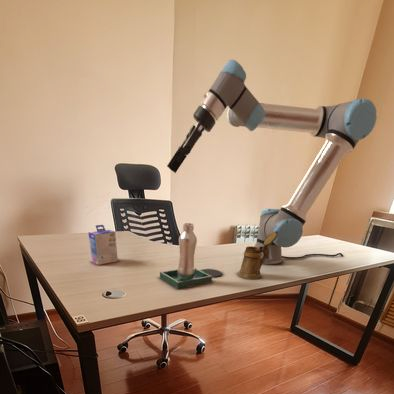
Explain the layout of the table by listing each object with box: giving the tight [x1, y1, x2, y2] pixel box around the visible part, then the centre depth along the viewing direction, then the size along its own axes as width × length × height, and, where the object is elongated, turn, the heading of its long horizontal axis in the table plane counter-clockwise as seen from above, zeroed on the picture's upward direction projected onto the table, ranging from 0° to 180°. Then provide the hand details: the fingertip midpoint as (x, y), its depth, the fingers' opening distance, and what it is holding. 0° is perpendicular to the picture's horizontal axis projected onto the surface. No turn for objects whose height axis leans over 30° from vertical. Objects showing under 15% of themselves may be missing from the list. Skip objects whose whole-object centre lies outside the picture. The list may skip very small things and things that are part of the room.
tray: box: [159, 267, 213, 290], centre depth 116 cm, size 16×13×2 cm
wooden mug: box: [238, 231, 278, 280], centre depth 122 cm, size 9×14×18 cm, turn 101°
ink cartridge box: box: [87, 224, 119, 266], centre depth 126 cm, size 10×6×14 cm, turn 137°
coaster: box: [200, 268, 223, 278], centre depth 126 cm, size 9×9×1 cm
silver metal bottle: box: [176, 222, 198, 280], centre depth 111 cm, size 6×7×20 cm
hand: (170, 169), depth 111 cm, fingers open, 13 cm apart
